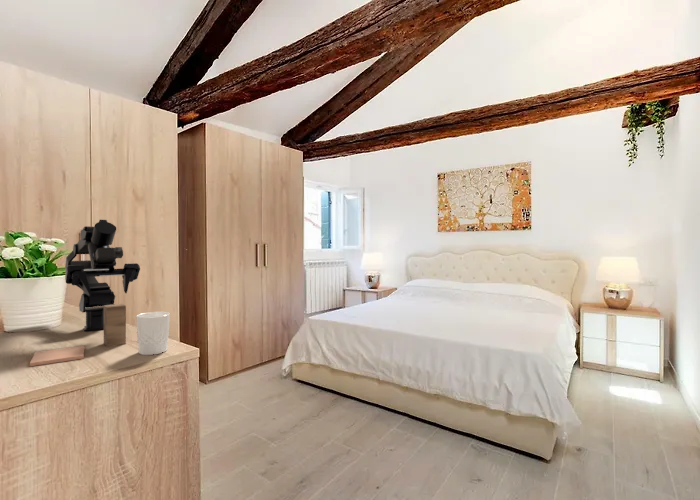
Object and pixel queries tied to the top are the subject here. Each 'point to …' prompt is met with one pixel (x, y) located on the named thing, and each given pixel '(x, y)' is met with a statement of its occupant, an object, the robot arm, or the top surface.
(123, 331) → the walnut block
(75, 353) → the terracotta tile
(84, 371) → the top surface
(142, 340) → the white cup
